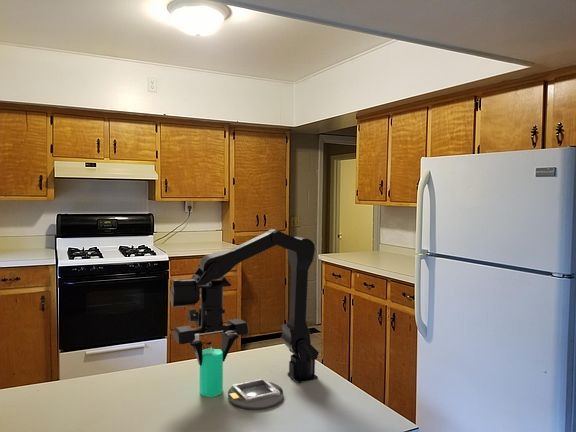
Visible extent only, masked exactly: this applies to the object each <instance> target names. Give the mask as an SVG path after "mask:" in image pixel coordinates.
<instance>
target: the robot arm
mask: <svg viewBox="0 0 576 432" xmlns="http://www.w3.org/2000/svg"><path fill="white" fill-rule="evenodd" d="M275 246H278V247H281V248H283V249H285V250H286V251H287V258H288V263H289V266H290V269H291V273H290V275H291V276H290V277H291V278H290V295H289V296H290V298H289V300H290V301H289V318H288V321H287V322H286V324H285V323H282V324H281V329H282V330H281V331H282V332H281V336H280V338H281V339H282V341H283V344H284V345H285V346H286V347H287V348H288V350H289V352H290V353H292V354H291V355H290V360H289V362H288V363H289V365H288V369H289V370H288V372H287V376H288V377H290V378H291V379H293V380H294V381H295V382H297V383H304V382H308V381H312V380H317V379H318V378H319V377H318V375H317V374H315V373H316V371H315V370H316V368H315V367H316V360H317V359H318V357H319V351H318V350H317V349H316V348H315V347H314V346H313V345H312V340H311V332H310V329H309V326H308V323H307V308H308V307H307V304H308V303H307V302H308V281H309V269H310V267H311V265H312V263H313V262H314V256H315V252H316V246H315V243H314V242H313V241H312V240H311V239H309V238H307V237H306V238H305V237H301V236H292V235H289V234H286V233H285V232H282V231H281V230H279V229H275V228H274V229H273V228H272V229H268V230H267V231H265V232H264V233H261V234H260V235H257V236H256V237H253V238H252V239H249V240H247V241H245V242H243V243H241V244H239V245H236V246H235V247H232V248H230V249H226V250H221V251H216V252H212V253H208V254H206V255H204V256H202V258H200V262H199V266H198V268H197V269H196V270H195V272H194V273H193V275H192V276H191V278H189V279H178V278H177V279H176V278H175V279H172V280H171V283H172V284H171V289H170V294H169V297H170V305H171V308H180V307H182V308H183V307H193V306H196V304H198V303H199V301H200V305H199V309H198V311H197V309H196V308H195V309H194V308H193V309H188V310H187V322H188V323H192V322H194V325H195V326H197V327H198V328H192V327H191V326H190V325H183V326H175V328H174V330H173V332H172V333H173V338H172V339H174V340H175V341H176V343H177V344H179V345H185V344H188V345H189V346H191V347H192V348H193V351H194V353H195V354H194V355H195V357H196V359H197V362H198V365H199V367H200V366H201V365H202V350H203V342H202V340H200V337H202V336H203V337H204V336H208V335H215V334H217V335H218V334H220V335H221V350H222V352H223V363H224V362H225V361H226V359H227V356H228V354H229V352H230V350H231V348H232V347H233V345H234V342H235V341H236V340H237V339H239V338H240V336H242V335H243V336H244V335H248V334H249V333H250V326H249V323H248V322H246V321H244V320H243V319H242V318H235V319H228V321H227V323H226V324H224V314H225V313H226V308H224V288H228V287H231V286H232V283H231V282H230V281H228V279H227V278H226V275H228V273H230V272H231V271H232V270H233V269H234V268H235V267H236V266H237V265H238V264H240V263H242V262H244V261H246V260H248V259H250V258H252V257H255V256H256V255H258V254H261V253H263V252H265V251H267V250H268V249H271V248H273V247H275Z"/></svg>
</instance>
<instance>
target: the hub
mask: <svg viewBox="0 0 576 432" xmlns="http://www.w3.org/2000/svg"><path fill="white" fill-rule="evenodd" d="M227 400H228V403H230V405H232V406H233V407H235V408H239V409H242V410H245V411H246V410H248V411H261V410H262V411H263V410H267V409H270V408H274V407H276V406H277V405H279V404H280V403H281V402H282V401H283V400H284V391H283V388H282V387H281V386H279V384H276V383H274V382H272V381H268V380H267V379H266V378H264V377H263V378H258V379H252V380H247V381H243V382H238V383H234V384H232V385H231V387H229V389H228V391H227Z"/></svg>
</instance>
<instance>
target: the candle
mask: <svg viewBox="0 0 576 432" xmlns="http://www.w3.org/2000/svg"><path fill="white" fill-rule="evenodd" d="M221 349H222V348H221ZM221 349H220V348H217V349H215V348H213V346H212V345H211V346H210V347H209V348H205V349H202V365H201V366H200V365H199V395H201V396H204V397H216V396H219V395H221V394H222V393H223V390H224V388H223V387H224V386H223V385H224V379H223V378H224V377H223V376H224V362H223V352H222V350H221Z"/></svg>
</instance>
